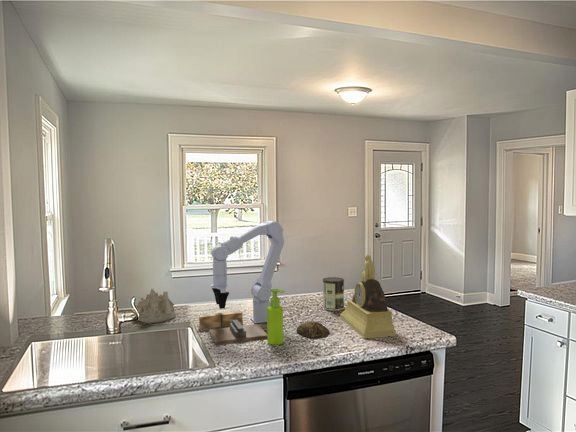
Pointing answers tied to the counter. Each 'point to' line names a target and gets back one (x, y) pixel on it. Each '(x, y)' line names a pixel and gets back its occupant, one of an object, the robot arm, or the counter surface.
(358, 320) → the decorative clock
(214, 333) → the board
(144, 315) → the sand castle
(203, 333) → the counter surface
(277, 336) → the soap dispenser
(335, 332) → the counter surface
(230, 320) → the oak beam
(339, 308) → the coffee can
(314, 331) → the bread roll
